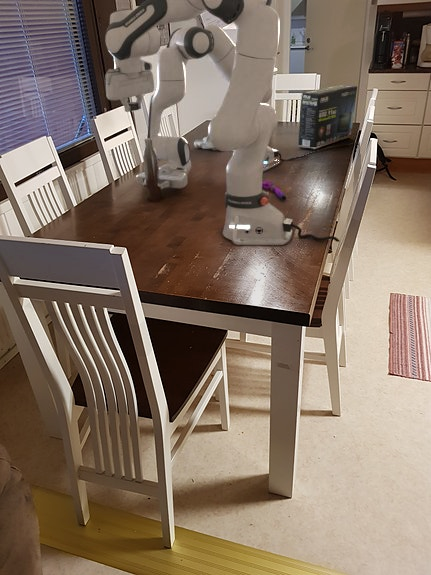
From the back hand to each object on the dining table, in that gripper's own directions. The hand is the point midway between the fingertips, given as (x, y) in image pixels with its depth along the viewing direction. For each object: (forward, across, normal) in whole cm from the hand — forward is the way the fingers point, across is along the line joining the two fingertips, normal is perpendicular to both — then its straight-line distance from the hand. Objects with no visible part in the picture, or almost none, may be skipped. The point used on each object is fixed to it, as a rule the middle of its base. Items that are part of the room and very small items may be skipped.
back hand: (152, 186), depth 177 cm
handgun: (-20, +41, +6) cm, 46 cm away
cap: (+4, -2, -30) cm, 31 cm away
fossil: (-80, -8, +5) cm, 81 cm away
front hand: (+4, -2, -28) cm, 29 cm away
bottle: (-1, 0, +6) cm, 6 cm away
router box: (-103, +49, +5) cm, 114 cm away
